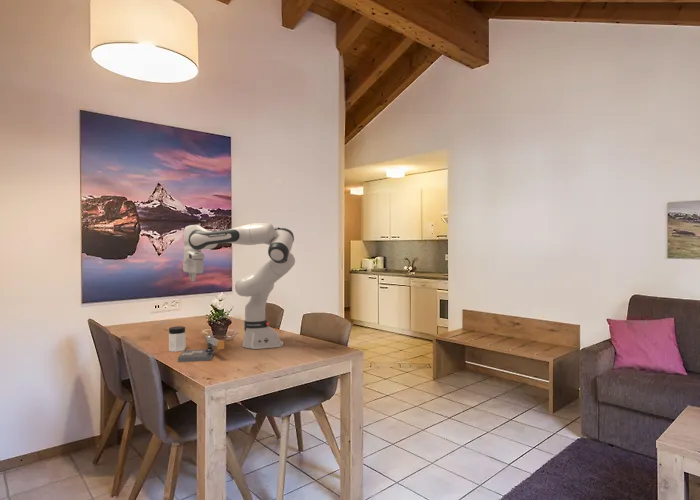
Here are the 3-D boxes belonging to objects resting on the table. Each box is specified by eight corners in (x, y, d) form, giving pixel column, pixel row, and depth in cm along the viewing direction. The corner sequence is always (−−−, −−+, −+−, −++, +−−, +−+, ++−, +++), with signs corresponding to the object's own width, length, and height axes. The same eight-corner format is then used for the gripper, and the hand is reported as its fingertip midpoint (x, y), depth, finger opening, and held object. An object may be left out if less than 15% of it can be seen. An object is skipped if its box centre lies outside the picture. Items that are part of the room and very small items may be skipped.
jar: (165, 351, 234) (164, 328, 234) (175, 347, 242) (175, 325, 242) (179, 352, 231) (179, 329, 231) (189, 348, 239) (189, 326, 239)
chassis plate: (214, 352, 230) (214, 342, 230) (210, 360, 215) (210, 348, 215) (184, 354, 227) (184, 343, 227) (178, 361, 212) (178, 350, 212)
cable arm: (205, 343, 228) (205, 335, 228) (211, 342, 230) (211, 334, 229) (218, 349, 214) (218, 341, 214) (224, 348, 216) (224, 340, 216)
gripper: (179, 254, 239) (180, 280, 240) (193, 255, 224) (193, 282, 224) (191, 254, 243) (191, 279, 244) (205, 255, 228) (206, 282, 228)
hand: (192, 281), depth 234 cm, fingers closed
